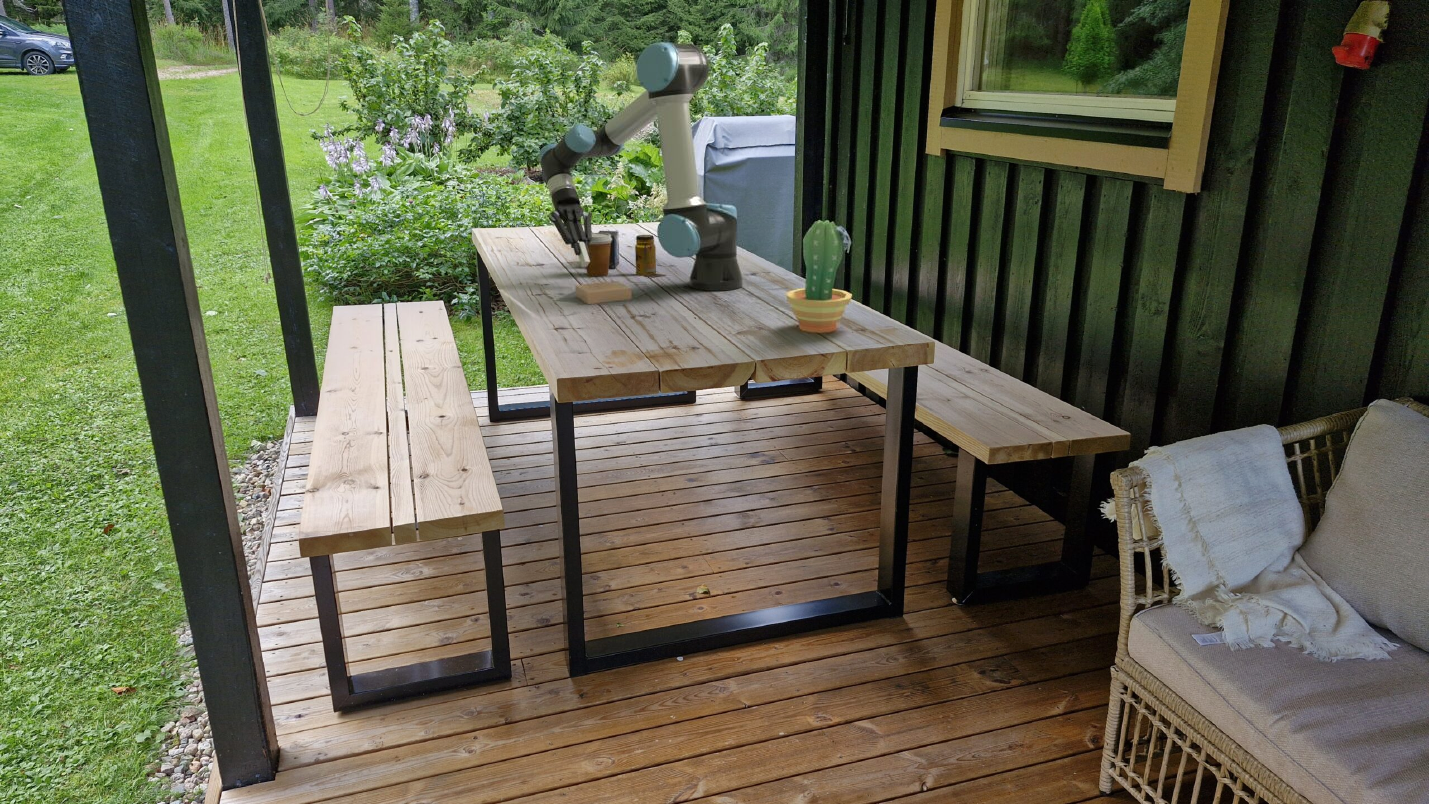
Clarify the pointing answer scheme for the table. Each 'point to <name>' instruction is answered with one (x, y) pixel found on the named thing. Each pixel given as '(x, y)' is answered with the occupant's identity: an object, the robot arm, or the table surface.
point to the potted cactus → (821, 279)
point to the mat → (573, 298)
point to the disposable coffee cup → (599, 255)
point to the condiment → (646, 256)
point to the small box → (613, 249)
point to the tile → (603, 292)
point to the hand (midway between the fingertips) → (585, 264)
